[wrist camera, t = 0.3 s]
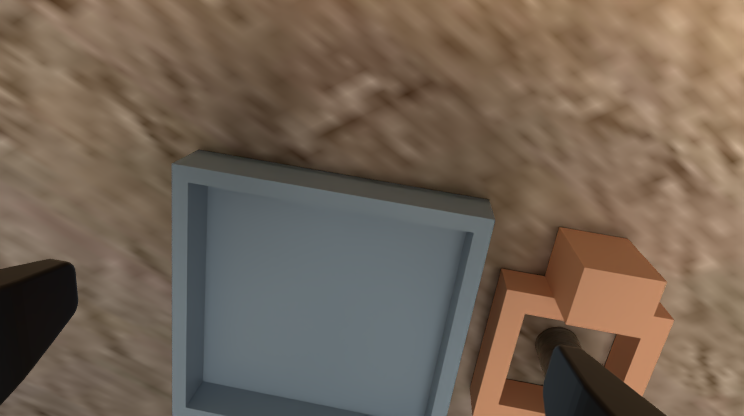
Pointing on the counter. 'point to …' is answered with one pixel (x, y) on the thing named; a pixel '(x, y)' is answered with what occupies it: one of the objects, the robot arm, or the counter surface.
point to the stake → (553, 344)
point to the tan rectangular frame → (574, 316)
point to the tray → (317, 290)
